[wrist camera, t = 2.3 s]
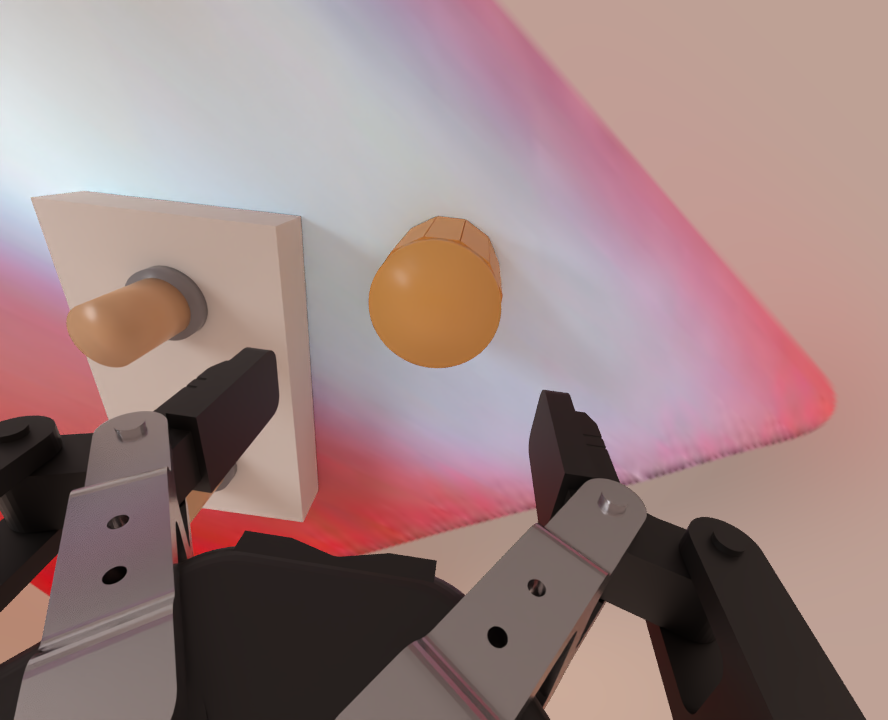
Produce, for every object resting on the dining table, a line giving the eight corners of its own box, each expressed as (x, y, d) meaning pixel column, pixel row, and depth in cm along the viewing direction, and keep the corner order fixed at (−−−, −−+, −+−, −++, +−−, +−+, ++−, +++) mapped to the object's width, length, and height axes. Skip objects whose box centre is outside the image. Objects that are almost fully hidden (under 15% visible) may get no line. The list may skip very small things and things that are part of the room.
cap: (397, 211, 22) (369, 234, 16) (505, 223, 21) (511, 251, 16) (393, 312, 24) (367, 359, 19) (489, 323, 24) (490, 375, 19)
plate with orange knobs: (84, 190, 22) (-84, 211, 16) (300, 216, 22) (221, 247, 15) (165, 468, 32) (81, 554, 25) (318, 490, 31) (273, 582, 25)
